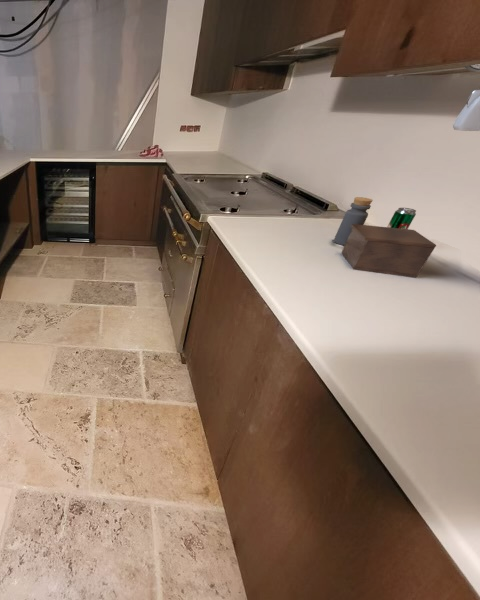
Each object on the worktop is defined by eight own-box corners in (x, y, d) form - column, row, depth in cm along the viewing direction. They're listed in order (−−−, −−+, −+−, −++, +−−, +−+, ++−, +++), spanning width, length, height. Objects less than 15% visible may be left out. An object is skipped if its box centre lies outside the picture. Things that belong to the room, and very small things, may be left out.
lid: (364, 240, 89) (365, 237, 88) (350, 226, 99) (351, 223, 98) (434, 247, 84) (436, 245, 84) (412, 232, 94) (414, 229, 94)
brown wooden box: (353, 269, 93) (367, 240, 89) (341, 253, 103) (353, 226, 99) (416, 277, 89) (434, 248, 84) (396, 259, 99) (412, 232, 94)
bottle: (330, 242, 111) (350, 198, 103) (336, 238, 114) (355, 195, 106) (351, 247, 107) (372, 202, 99) (355, 243, 110) (377, 199, 102)
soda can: (380, 240, 113) (398, 206, 106) (398, 244, 110) (418, 209, 103) (377, 244, 110) (396, 209, 103) (397, 248, 107) (417, 212, 100)
